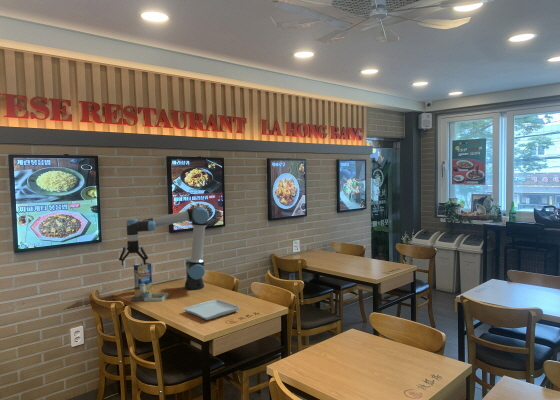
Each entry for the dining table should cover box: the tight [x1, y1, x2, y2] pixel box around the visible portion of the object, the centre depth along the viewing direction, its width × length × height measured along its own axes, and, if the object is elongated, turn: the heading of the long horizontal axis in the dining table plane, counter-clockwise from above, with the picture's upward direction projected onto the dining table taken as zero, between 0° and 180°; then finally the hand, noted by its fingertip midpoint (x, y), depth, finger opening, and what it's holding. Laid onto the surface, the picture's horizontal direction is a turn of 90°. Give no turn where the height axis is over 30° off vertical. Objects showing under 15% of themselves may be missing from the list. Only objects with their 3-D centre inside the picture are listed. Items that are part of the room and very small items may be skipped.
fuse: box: [139, 283, 145, 295], centre depth 300 cm, size 4×4×9 cm
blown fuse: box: [133, 286, 141, 298], centre depth 292 cm, size 4×4×9 cm
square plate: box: [182, 298, 241, 321], centre depth 262 cm, size 27×27×4 cm
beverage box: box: [133, 262, 153, 293], centre depth 312 cm, size 7×11×22 cm, turn 134°
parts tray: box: [143, 292, 169, 302], centre depth 294 cm, size 13×13×2 cm
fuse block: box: [130, 292, 150, 302], centre depth 296 cm, size 7×16×3 cm, turn 176°
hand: (134, 269), depth 294 cm, fingers open, 13 cm apart
